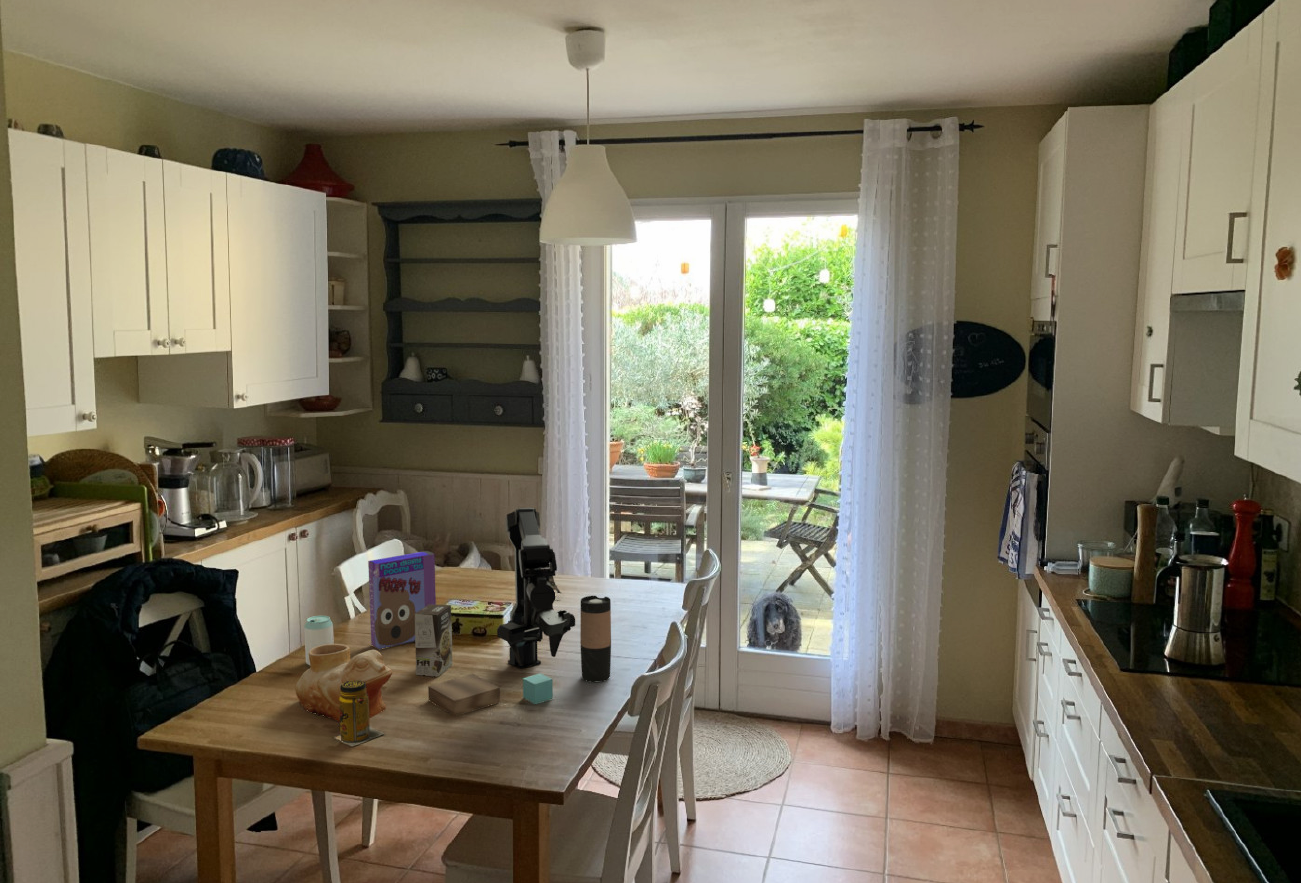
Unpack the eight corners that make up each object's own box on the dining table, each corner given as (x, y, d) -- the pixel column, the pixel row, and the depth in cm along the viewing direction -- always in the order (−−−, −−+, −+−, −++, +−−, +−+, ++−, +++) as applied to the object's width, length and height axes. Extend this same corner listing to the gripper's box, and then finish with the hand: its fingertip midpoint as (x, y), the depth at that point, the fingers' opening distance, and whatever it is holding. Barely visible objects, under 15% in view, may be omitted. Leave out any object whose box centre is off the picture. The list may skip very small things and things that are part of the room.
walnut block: (473, 689, 239) (472, 673, 239) (499, 704, 230) (499, 687, 230) (428, 702, 231) (428, 685, 231) (454, 717, 222) (454, 700, 222)
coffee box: (439, 677, 246) (437, 614, 244) (415, 675, 247) (413, 613, 245) (453, 664, 255) (452, 604, 253) (430, 663, 256) (428, 603, 254)
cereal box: (379, 649, 266) (376, 563, 263) (371, 645, 270) (368, 560, 267) (436, 636, 278) (434, 553, 275) (428, 632, 281) (426, 550, 278)
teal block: (540, 693, 236) (540, 673, 235) (552, 699, 232) (552, 679, 232) (523, 698, 233) (522, 678, 232) (535, 704, 229) (534, 684, 228)
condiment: (332, 738, 211) (330, 684, 209) (366, 725, 217) (364, 673, 216) (351, 747, 206) (349, 692, 204) (386, 734, 212) (384, 681, 211)
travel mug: (588, 684, 241) (587, 605, 239) (575, 674, 248) (575, 597, 245) (616, 679, 245) (616, 601, 242) (603, 669, 251) (603, 593, 249)
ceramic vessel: (361, 733, 213) (359, 666, 211) (282, 707, 227) (279, 645, 225) (408, 711, 225) (406, 648, 223) (330, 688, 239) (328, 628, 237)
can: (325, 669, 252) (323, 623, 250) (300, 667, 253) (298, 621, 252) (339, 659, 259) (337, 615, 257) (315, 657, 260) (313, 613, 259)
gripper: (522, 612, 217) (523, 680, 219) (589, 596, 229) (589, 661, 231) (495, 601, 226) (496, 666, 228) (561, 586, 238) (561, 648, 240)
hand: (537, 661), depth 231 cm, fingers open, 9 cm apart
